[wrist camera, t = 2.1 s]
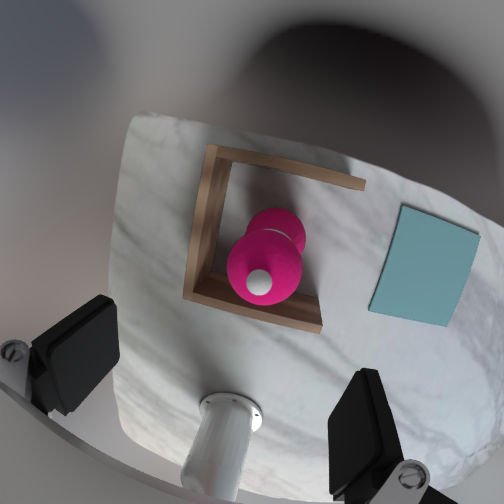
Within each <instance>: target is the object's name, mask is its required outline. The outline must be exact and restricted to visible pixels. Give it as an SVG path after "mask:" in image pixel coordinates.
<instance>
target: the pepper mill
mask: <svg viewBox="0 0 504 504" xmlns="http://www.w3.org/2000/svg"><path fill="white" fill-rule="evenodd" d="M305 241H306V235H305V230H304V227H303V225H302V223H301V221H300V220H299V219H298V217H297V216H295V215H294V214H293V213H292V212H290V211H288V210H285V209H281V208H269V209H265V210H263V211H261V212H259V213H258V214H256V215H255V216H254V217H253V218H252V220H251V221H250V223H249V225H248V227H247V230H246V233H245V236H243V237H241V238H240V239H239V240H238V241H237V242H236V243H235V245H234V246H233V248H232V250H231V251H230V254H229V256H228V261H227V274H228V279H229V281H230V284H231V286H232V287H233V289H234V290H235V292H236V293H237V294H238V295H239V296H241V297H242V298H243V299H245V300H246V301H248V302H250V303H253V304H256V305H272V304H276V303H279V302H281V301H283V300H285V299H286V298H288V297H289V296H290V295H291V294H292V293H293V292H294V291H295V289H296V288H297V286H298V284H299V282H300V280H301V276H302V269H303V265H302V258H301V254H302V252H303V249H304V246H305Z"/></svg>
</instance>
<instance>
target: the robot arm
mask: <svg viewBox="0 0 504 504" xmlns="http://www.w3.org/2000/svg"><path fill="white" fill-rule="evenodd" d="M31 343H32V347H31V348H29V347H28V345H27V344H26V343H25V342H23V341H21V340H16V339H15V340H9V341H6V342H5V343H3V344H2V345H1V346H0V504H241V503H236V502H235V501H236V496H237V492H238V487H239V483H240V479H241V475H242V471H243V467H244V462H245V458H246V454H247V450H248V445H249V441H250V437H251V433H252V432H254V431H256V430H257V429H258V428H259V427H260V426H261V423H262V417H263V416H262V412H261V410H260V409H259V407H258V406H257V405H256V404H254V403H253V402H252V401H250V400H249V399H247V398H245V397H242V396H240V395H236V394H231V393H215V394H211V395H209V396H207V397H205V398H204V399H203V401H202V402H201V405H200V408H199V410H200V414H201V417H202V418H203V420H202V423H201V425H200V428H199V430H198V432H197V435H196V437H195V440H194V442H193V444H192V447H191V449H190V451H189V454H188V456H187V458H186V461H185V463H184V465H183V468H182V470H181V483H182V485H183V488H182V487H179V486H176V485H174V484H171V483H168V482H166V481H163V480H160V479H158V478H155V477H153V476H150V475H148V474H146V473H144V472H141V471H139V470H137V469H135V468H133V467H130V466H128V465H126V464H124V463H122V462H120V461H118V460H116V459H114V458H112V457H111V456H108V455H107V454H105V453H103V452H101V451H100V450H98V449H96V448H94V447H93V446H91V445H89V444H88V443H86V442H84V441H83V440H81V439H80V438H78V437H77V436H75V435H74V434H72V433H70V432H69V431H68V430H66V429H65V428H63V427H62V426H60V425H59V424H58V423H56V422H55V421H53V420H52V411H53V409H54V408H55V409H56V410H57V411H59V412H60V413H61V414H63V415H64V416H66V415H67V414H68V413H69V412H73V411H75V409H76V408H77V407H78V406H79V405H80V404H81V403H82V401H83V400H84V399H85V398H86V397H87V396H88V395H89V394H90V392H91V391H92V390H93V389H94V388H95V387H96V386H97V385H98V384H99V383H100V381H101V380H102V379H103V378H104V377H105V376H106V375H107V374H108V373H109V371H110V370H111V369H112V368H113V367H114V366H115V365H116V364H117V363H118V361H119V358H120V352H119V340H118V325H117V306H116V304H114V301H113V299H111V298H109V297H106V296H104V295H98V296H96V297H95V298H93V299H92V300H90V301H89V302H87V303H86V304H84V305H83V306H81V307H80V308H78V309H77V310H76V311H74V312H73V313H71V314H70V315H68V316H67V317H65V318H64V319H62V320H61V321H60V322H59V323H57V324H55V325H54V326H52V327H51V328H50V329H48V330H47V331H46V332H44V333H43V334H41V335H40V336H38V337H37V338H36V339H35V340H33V341H32V342H31ZM328 444H329V492H330V494H331V495H333V501H344V502H345V504H458V503H457V502H455V501H453V500H452V499H450V498H448V497H447V496H445V495H443V494H442V493H440V492H439V491H437V490H436V489H434V488H432V487H431V486H429V482H430V474H429V471H428V469H427V468H426V466H425V465H424V464H422V463H421V462H419V461H417V460H412V459H409V460H404V457H403V453H402V449H401V445H400V441H399V437H398V433H397V430H396V426H395V422H394V419H393V415H392V412H391V409H390V407H389V404H388V401H387V398H386V394H385V391H384V388H383V385H382V382H381V379H380V376H379V373H378V371H377V370H375V369H368V368H362V369H361V370H360V371H356V372H355V374H354V376H353V377H352V379H351V381H350V383H349V385H348V386H347V388H346V390H345V392H344V393H343V395H342V397H341V398H340V400H339V402H338V403H337V405H336V407H335V408H334V410H333V411H332V413H331V415H330V416H329V419H328Z"/></svg>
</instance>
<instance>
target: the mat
mask: <svg viewBox="0 0 504 504" xmlns="http://www.w3.org/2000/svg"><path fill="white" fill-rule="evenodd" d="M480 237H481V236H479V235H476V234H474V233H472V232H470V231H467V230H465V229H463V228H460V227H458V226H455V225H453V224H450V223H448V222H446V221H443V220H440V219H438V218H435V217H433V216H430V215H427V214H425V213H422V212H419V211H417V210H414V209H411V208H408V207H405V206H401V210H400V214H399V218H398V221H397V225H396V229H395V232H394V236H393V239H392V242H391V246H390V249H389V252H388V255H387V258H386V261H385V264H384V267H383V270H382V273H381V276H380V279H379V282H378V285H377V287H376V290H375V293H374V295H373V298H372V301H371V303H370V306H369V308H368V311H371V312H375V313H380V314H385V315H389V316H394V317H399V318H404V319H409V320H414V321H419V322H424V323H429V324H434V325H440V326H445V327H447V325H448V323H449V321H450V319H451V317H452V315H453V312H454V310H455V308H456V306H457V303H458V301H459V298H460V296H461V294H462V291H463V288H464V286H465V283H466V281H467V278H468V275H469V272H470V269H471V267H472V264H473V261H474V257H475V254H476V251H477V248H478V244H479V241H480Z"/></svg>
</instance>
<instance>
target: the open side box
mask: <svg viewBox="0 0 504 504" xmlns="http://www.w3.org/2000/svg"><path fill="white" fill-rule="evenodd" d="M232 161H233V162H239V163H244V164H249V165H254V166H259V167H264V168H268V169H273V170H278V171H282V172H286V173H291V174H295V175H299V176H303V177H307V178H311V179H315V180H319V181H323V182H327V183H330V184H334V185H338V186H341V187H345V188H348V189H354V190H360V191H364V188H365V184H366V180H364V179H361V178H358V177H354V176H351V175H348V174H344V173H341V172H337V171H333V170H330V169H326V168H322V167H318V166H315V165H311V164H307V163H302V162H298V161H294V160H290V159H285V158H281V157H276V156H271V155H267V154H262V153H257V152H251V151H246V150H240V149H235V148H229V147H223V146H216V145H210V144H207V149H206V153H205V158H204V163H203V168H202V173H201V179H200V184H199V189H198V195H197V201H196V206H195V212H194V218H193V224H192V231H191V237H190V244H189V251H188V258H187V265H186V273H185V281H184V289H183V299H186V300H190V301H193V302H196V303H200V304H203V305H206V306H210V307H213V308H217V309H220V310H224V311H227V312H231V313H235V314H238V315H242V316H246V317H250V318H253V319H257V320H261V321H265V322H269V323H273V324H277V325H282V326H286V327H290V328H294V329H299V330H303V331H307V332H312V333H317V334H320V332H321V329H322V326H323V325H322V318H321V311H320V305H319V299H318V298H315V297H311V296H306V295H302V294H298V293H294V292H293V293H292V294H291V295H290V296H289V297H288V298H286V299H285V300H283V301H281V302H279V303H276V304H272V305H256V304H253V303H250V302H248V301H246V300H245V299H243V298H242V297H241V296H239V295H238V294H237V293H236V292H235V290H234V289H233V287H232V286H231V284H230V281H229V279H228V276H227V275H223V274H219V273H216V272H212V267H213V261H214V255H215V249H216V244H217V238H218V233H219V227H220V222H221V216H222V211H223V206H224V201H225V196H226V191H227V186H228V181H229V176H230V171H231V166H232Z"/></svg>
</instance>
